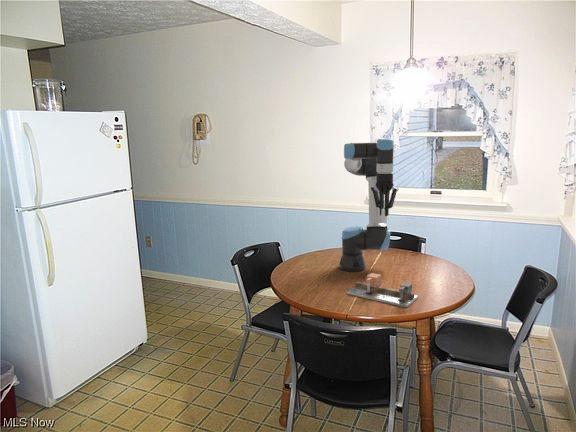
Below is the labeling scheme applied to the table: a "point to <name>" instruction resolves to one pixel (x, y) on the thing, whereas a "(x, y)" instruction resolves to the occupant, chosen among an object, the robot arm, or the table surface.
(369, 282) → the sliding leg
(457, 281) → the table surface
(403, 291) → the rail and fixed leg
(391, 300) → the bolt plate
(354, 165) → the robot arm
